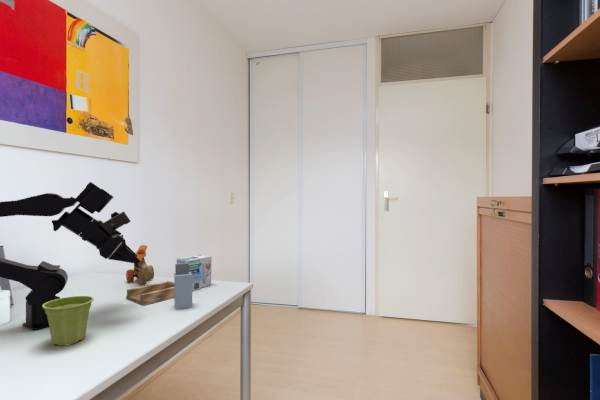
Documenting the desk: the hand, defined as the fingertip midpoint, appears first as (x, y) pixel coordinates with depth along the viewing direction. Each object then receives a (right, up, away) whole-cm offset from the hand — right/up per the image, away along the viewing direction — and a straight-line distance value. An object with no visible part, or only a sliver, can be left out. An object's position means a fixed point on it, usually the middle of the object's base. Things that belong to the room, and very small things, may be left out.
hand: (137, 259), depth 95 cm
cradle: (0, -14, +13) cm, 19 cm away
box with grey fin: (+12, -14, +3) cm, 19 cm away
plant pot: (-5, -15, -20) cm, 25 cm away
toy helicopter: (-12, -14, +29) cm, 35 cm away
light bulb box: (+8, -14, +25) cm, 30 cm away
